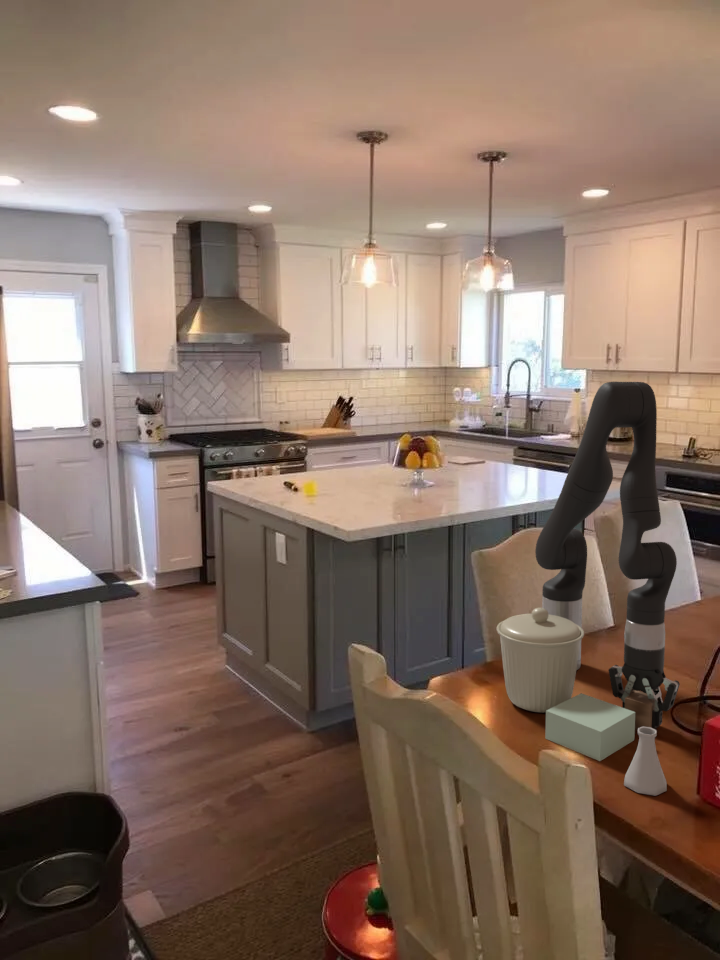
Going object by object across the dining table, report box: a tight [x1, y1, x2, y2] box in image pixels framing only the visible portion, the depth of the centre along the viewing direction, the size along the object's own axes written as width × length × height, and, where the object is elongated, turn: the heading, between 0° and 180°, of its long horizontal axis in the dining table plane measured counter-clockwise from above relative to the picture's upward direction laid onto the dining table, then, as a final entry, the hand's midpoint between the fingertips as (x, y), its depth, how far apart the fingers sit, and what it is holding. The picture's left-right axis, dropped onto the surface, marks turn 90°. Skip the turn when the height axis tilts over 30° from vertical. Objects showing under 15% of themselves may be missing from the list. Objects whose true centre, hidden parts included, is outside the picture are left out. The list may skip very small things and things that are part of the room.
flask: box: [623, 726, 668, 797], centre depth 134 cm, size 7×7×10 cm
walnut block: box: [625, 690, 654, 732], centre depth 156 cm, size 5×5×6 cm
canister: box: [496, 607, 585, 714], centre depth 166 cm, size 18×18×21 cm
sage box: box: [544, 692, 636, 762], centre depth 151 cm, size 12×12×6 cm
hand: (641, 722), depth 156 cm, fingers closed on walnut block, 5 cm apart
